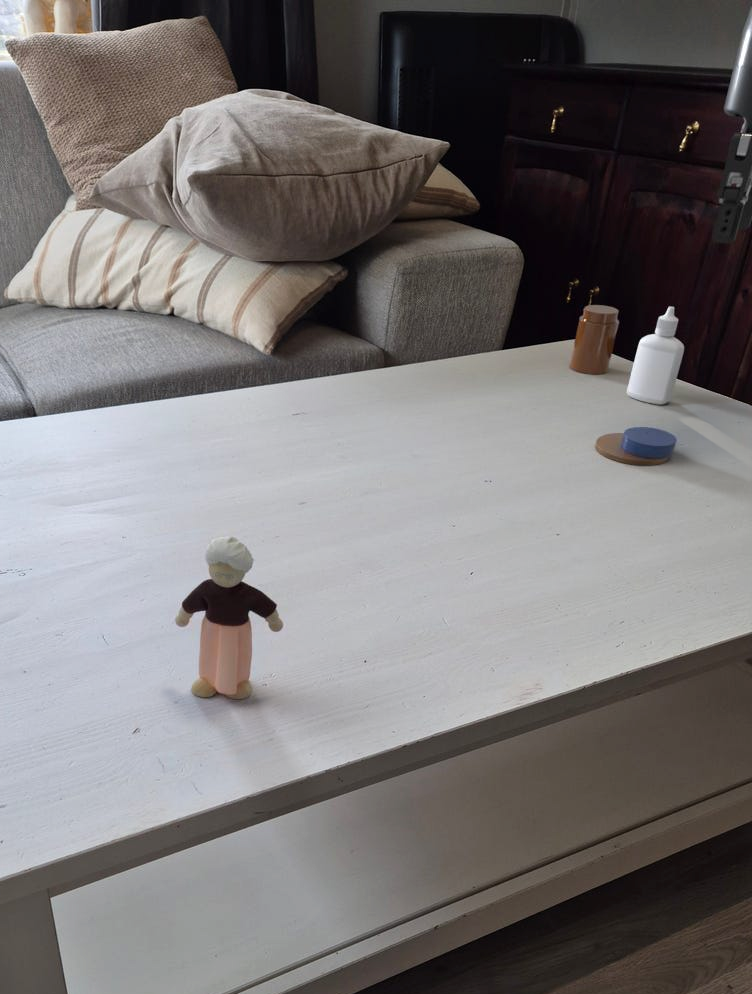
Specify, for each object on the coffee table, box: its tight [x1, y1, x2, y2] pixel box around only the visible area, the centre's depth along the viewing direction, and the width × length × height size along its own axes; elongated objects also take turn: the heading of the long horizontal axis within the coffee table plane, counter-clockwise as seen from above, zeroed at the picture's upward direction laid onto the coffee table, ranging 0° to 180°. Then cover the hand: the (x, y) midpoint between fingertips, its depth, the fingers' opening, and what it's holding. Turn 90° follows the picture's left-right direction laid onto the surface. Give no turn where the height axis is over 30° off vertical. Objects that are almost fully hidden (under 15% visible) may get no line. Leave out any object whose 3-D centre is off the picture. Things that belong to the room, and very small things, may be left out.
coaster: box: [594, 432, 670, 466], centre depth 109 cm, size 8×8×1 cm
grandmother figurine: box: [174, 536, 284, 700], centre depth 65 cm, size 8×4×13 cm, turn 96°
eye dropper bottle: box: [626, 306, 685, 405], centre depth 121 cm, size 4×6×12 cm
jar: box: [569, 304, 620, 375], centre depth 132 cm, size 5×5×8 cm
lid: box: [621, 426, 677, 459], centre depth 107 cm, size 6×6×2 cm
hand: (730, 235), depth 101 cm, fingers open, 8 cm apart
